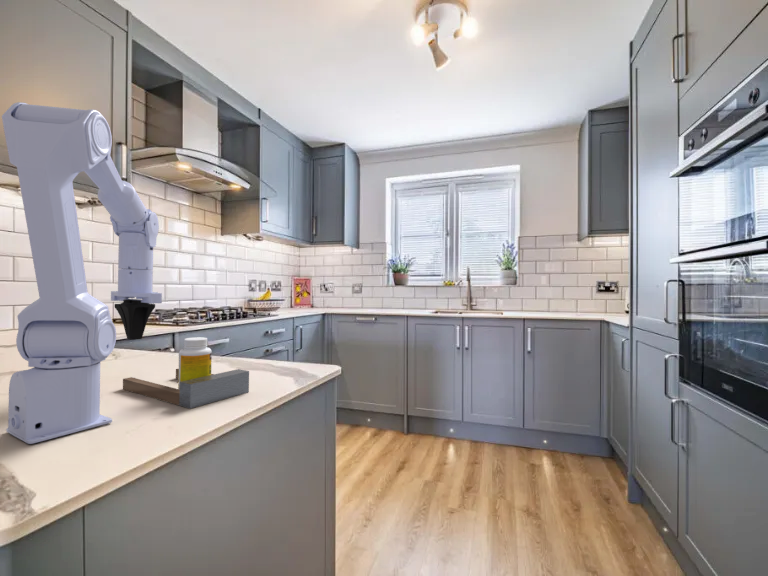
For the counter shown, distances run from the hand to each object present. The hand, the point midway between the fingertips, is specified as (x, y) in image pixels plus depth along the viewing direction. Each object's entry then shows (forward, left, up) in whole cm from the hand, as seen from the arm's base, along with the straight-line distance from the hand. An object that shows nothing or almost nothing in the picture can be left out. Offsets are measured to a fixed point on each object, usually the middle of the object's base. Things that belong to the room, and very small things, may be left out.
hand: (134, 339), depth 75 cm
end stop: (+4, -20, -9) cm, 22 cm away
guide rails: (+4, -9, -9) cm, 14 cm away
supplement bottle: (+4, -13, -10) cm, 17 cm away
